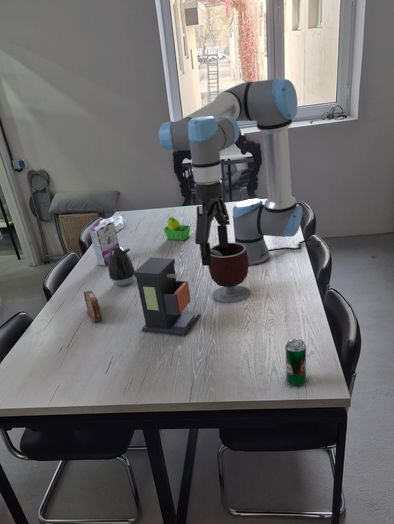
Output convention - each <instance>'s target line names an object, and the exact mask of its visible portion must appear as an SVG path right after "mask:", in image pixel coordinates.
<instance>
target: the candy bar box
mask: <svg viewBox="0 0 394 524" xmlns="http://www.w3.org/2000/svg"><path fill="white" fill-rule="evenodd" d="M98 224H99V223H98ZM98 224H97V225H95V226H93V227H91V228H89V229H88V231H89V235H90V238H91V243H92V246H93V251H94V253H95V258H96V261H97V265H98V266H104V267H108V261H109V255H110V251H111V249H112V248H114V247H116V246H118V247H120V243H119V239H118V235H117V232H116V230H115V226H114V222H113V221H105V222H103V223H101V224H99V225H98Z"/></svg>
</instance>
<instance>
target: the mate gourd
mask: <svg viewBox="0 0 394 524" xmlns="http://www.w3.org/2000/svg"><path fill="white" fill-rule="evenodd" d="M228 246H229V247H228V248H227V247H219V243H218V244H215V245H213V246H210V250H211V260H212V265H211V266H207V267H208V270H209V274H210V277H211V280H212V281H213V282H214V283H215V284H216V285H218V286H219V288H217V289H216V290H215V291H214V293H213V297H214V299H215V300H216V301H218V302H220V303H227V304H228V303H236V302H240V301H242V300H243V301H244V299H246V298H248V295H249V290H248V288H246V287H245V286H242V285H241V284H243V282H244V281H245V279H246V278H247V277H248V273H249V265H248V255H247V251H246V247H245V246H244V245H243V244H240V243H235V242H228Z"/></svg>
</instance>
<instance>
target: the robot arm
mask: <svg viewBox="0 0 394 524" xmlns="http://www.w3.org/2000/svg"><path fill="white" fill-rule="evenodd" d="M297 112H298V95H297V91H296V87H295V85H294V84H293V83H292V81H291V80H289V79H286V78H283V79H281V78H273V79H265V80H256V81H255V80H254V81H246V82H242V83H239V84H236V85H234V86H232V87H230V88H227V89H226V90H224V91H222V92H221V93H219V94H217V95H216V96H215V98H214V99H213V101H211V102H209V103H207V104H205V105H204V106H203V107H201V108H198V109H197V110H195V111H194V112H192V113H190V114H188V115H187V116H184V117H183V118H181V119H179V120H176V121H166V122H163V123H162V124H161V125H160V127H159V129H158V139H159V143H160V145H161V148H163V149H164V150H165V151H173V152H177V151H190V157H191V166H192V169H191V172H192V173H193V181H194V193H195V197H196V198H197V199H199V200H201V205H198V206H196V225H195V245H199V250H200V258H201V266H206V267H208V266H211V265H212V260H211V250H210V248H211V243H210V242H209V239H210V233H211V226H212V222H213V221H214V219H215V221H216V222H217V224H218V225H217V227H216V229H217V237H218V244H219V247H227V248H228V247H229V246H228V243H229V238H228V226H229V225H230V224H231V221H230V216H229V212H228V209H227V206H226V202H225V198H224V186H223V185H224V183H223V180H222V178H223V173H222V163H221V151H223V150H226V149H228V148H230V147H231V146H233V145H234V144H235V143H236V142H237V141H238V140H239V136H240V125H239V124H238V122H256V129H257V130H258V131H260V132H261V135H262V147H263V157H264V159H263V160H264V167H265V179H266V190H267V191H266V192H267V198H266V200H265V201H264V202H263V200H262V198H250V199H244V200H242V201H240V202H237V203H236V204H235V205H233V207H232V223H233V233H234V243H240V244H243V245H244V246H245V247H246V251H247V255H248V266H256V265H260V264H262V263H265V262H266V261H268V260H269V258H270V252H275V251H283V250H291V251H296V250H300V249H301V248H302V246H301V245H302V244H304V243H307V242H309V241H312V240H311V239H312V238H307V239H304V240H301V241H299V242H298V247H289V246H288V247H287V246H286V247H285V246H284V247H277V248H270V249H269V247H268V245H267V243H266V241H265V237H266V236H268V237H282V238H292V237H295V236H296V235H297V233H298V231H299V229H300V226H301V223H302V217H303V208H302V206H301V205H299V204H297V199H296V197H295V196H293V195H292V179H291V178H292V177H291V161H290V146H289V143H290V142H289V127H290V126H291V125H292V123H293V119H294V118H296V116H297Z"/></svg>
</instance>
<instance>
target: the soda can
mask: <svg viewBox="0 0 394 524" xmlns="http://www.w3.org/2000/svg"><path fill="white" fill-rule="evenodd" d="M285 379H286V382H287V383H288V384H289V385H291V386H294V387H299V386H303V385H304V384H305V383H306V381H307V345H306V342H305V341H304V340H303V339H302V338H295V337H294V338H291V339H289V340H288V341H287V342H286V345H285Z"/></svg>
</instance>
